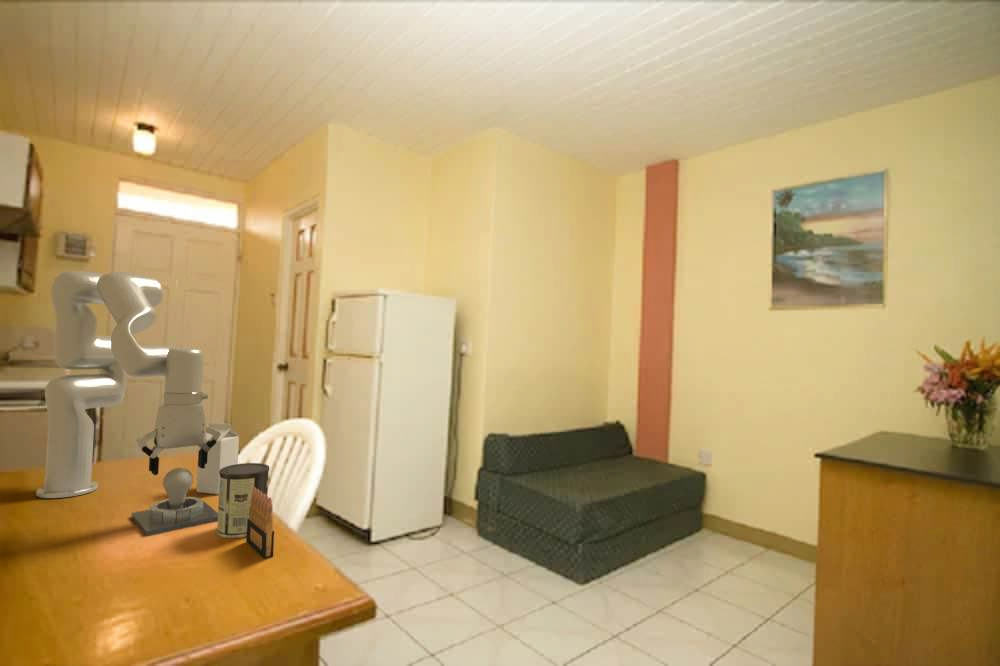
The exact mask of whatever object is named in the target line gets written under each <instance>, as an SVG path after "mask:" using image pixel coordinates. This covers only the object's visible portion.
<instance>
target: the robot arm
mask: <svg viewBox="0 0 1000 666" xmlns="http://www.w3.org/2000/svg"><path fill="white" fill-rule="evenodd" d="M50 288H51V289H50V295H51V296H50V297H51V303H52V306H53V309H54V314H55V320H56V321H55V335H54V361H55V364H56V366H57V367H58V368H61V369H64V370H70V371H71V370H79V371H80V370H99V373H92V374H89V373H88V374H87V373H85V374H65V375H60V376H57V377H55V378H53V379H51V380H50V381H49V382H47V384H46V385H45V389H44V398H45V404H46V410H47V440H46V455H45V456H46V457H45V458H46V459H45V471H44V474H45V475H44V486H42V487H39V488H38V489H37V490H36V493H35V496H36V497H38V498H41V499H63V498H69V497H77V496H80V495H85V494H89V493H91V492H94V491H96V490H97V489H98V487H99V483H98V482H96V481H93V480H92V473H93V472H92V470H93V469H92V467H93V453H94V450H93V449H94V438H95V437H94V434H95V425H94V422H93V419H92V418H91V417H90V416H89V415H88V413H87V412H86V410H88V409H97V408H106V407H113V406H117V405H118V404H120V403H121V402H122V401H123V400H124V398H125V396H126V395H125V394H126V390H127V388H126V387H127V375H128V376H131V377H134V378H147V377H164V392H163V393H164V394H163V404H160V405H158V406H159V407H158V409H157V412H156V419H155V421H154V429H153V431H150V432H148V433H147V434H145V435H143V436H141V437H139V438H136V440H135V442H136V443H137V446H138V447H139V448H140V450H141V451H142V452H143V453H144V454H145V455H147V456H148V457H149V459H148V460H149V461H148V462H149V463H148V471H149V472H151V474H152V475H153V476H157V475H159V467H160V458H159V457H158V455H159V454H160V453H161V452H162V451H163V450H167V449H175V448H176V449H179V448H187V447H196V446H198V448H199V447H200V448H201V449H200V450H199V449H198V455H197V467H198V466H199V467H200V468H202V469H203V468H205V464H207V457H208V451H210V449H211V448H212V447H213V446H214V445H215V444H216V441H217V440H218V438H219V437H220V435H221V433H220V432H218V431H216V430H213V429H211V428H208V427H209V426H207V422H206V420H207V419H206V410H205V406H204V404H203V403H202V402H203V400H207V399H208V397H209V396H208V393H204V392H203V391H202V388H203V374H204V373H203V372H204V371H203V369H204V368H203V367H204V353H203V350H202V349H199V348H195V347H193V348H192V347H184V346H179V345H149V344H148V345H147V344H146V345H141V344H139V343H138V342H137V340H136V339H135V337H134V336H133V335H136V334H138V333H141V332H143V331H145V330H148V329H149V328H150V327H151V326H153V325H154V323H155V322H156V320H157V316H158V315H157V312H156V311H155V308H153V307H157V306H158V305H160V303H161V302H162V300H163V299H164V288H163V286H162V284H161V283H160V281H159V280H157V279H156V278H155V277H153V276H149V275H145V274H144V275H143V274H135V273H129V272H128V273H127V272H119V271H117V272H116V271H114V272H108V273H101V272H95V271H85V270H68V271H63V272H61V273H59V274H58V275H56V276H55V278H54V279H53V282H52V284H51V287H50ZM87 304H94V305H104V306H106V308H107V309H108V311H109V312H110V314H111V316H112V318H113V320H115V323H116V325H115V326H114V328H113V330H112V333H111V335H99V334H98V331H97V328H98V320H97V317H96V314H95V313H94V311H93V309H91V308H90V306H89V305H87ZM206 433H209V434H211V435H212V437H211V439H210V440H209V441H208V442H207V443H206V444H205V443H204V442H205V439H206ZM150 440H153V441H152V442H153V445H154V446H152V447H151V448H149V447H148V445H147V442H148V441H150Z"/></svg>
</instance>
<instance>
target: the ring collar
mask: <svg viewBox="0 0 1000 666" xmlns="http://www.w3.org/2000/svg"><path fill="white" fill-rule="evenodd" d="M131 519H132V520H133V522H135V524H136V525H137V526H138V528H139V530H141V531H142V533H143V534H144V536H145V537H148V536H154V535H158V534H163V533H168V532H172V531H177V530H182V529H185V528H191V527H195V526H196V527H197V526H201V525H204V524H205V525H206V524H210V523H214V522H218V511H216V509H214V508H213V507H211V506H210V505H209V504H208V503H206V502H205V501H204V500H203V499H201V497H196V496H195V497H194V496H186V497H185V502H184V503H183V508H181V509H174V510H170V504H169V498H166V499H163V500H160V501H157V502H154V503H153V504H152V505H150V506H149V509H146V510H141V511H136V512H132V513H131Z"/></svg>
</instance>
